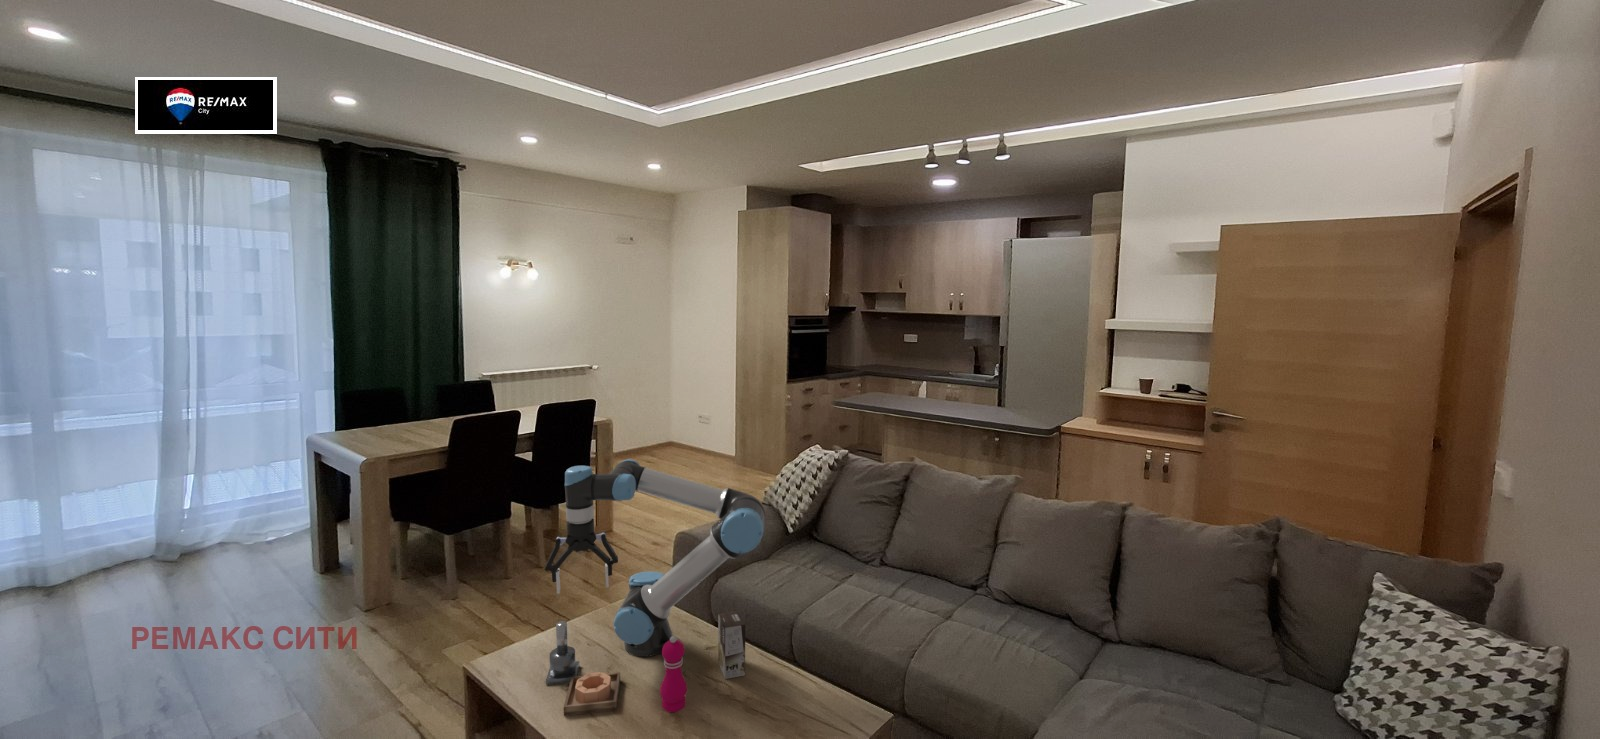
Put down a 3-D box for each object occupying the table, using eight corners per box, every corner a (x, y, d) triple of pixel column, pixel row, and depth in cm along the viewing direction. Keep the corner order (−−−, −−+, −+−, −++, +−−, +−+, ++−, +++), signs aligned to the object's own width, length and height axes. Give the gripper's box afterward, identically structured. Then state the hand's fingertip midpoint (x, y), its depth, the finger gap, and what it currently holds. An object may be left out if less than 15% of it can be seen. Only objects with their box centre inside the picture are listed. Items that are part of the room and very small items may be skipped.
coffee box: (745, 675, 187) (746, 624, 185) (724, 679, 185) (724, 627, 183) (738, 658, 196) (738, 609, 194) (717, 662, 193) (717, 612, 191)
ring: (608, 702, 172) (608, 690, 172) (573, 706, 171) (573, 694, 170) (611, 682, 181) (611, 671, 181) (578, 685, 179) (578, 674, 179)
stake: (579, 665, 190) (577, 615, 188) (575, 681, 183) (573, 629, 181) (551, 668, 189) (549, 617, 187) (545, 684, 181) (544, 632, 179)
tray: (620, 680, 184) (620, 672, 183) (616, 710, 171) (615, 701, 170) (571, 684, 181) (571, 676, 181) (563, 715, 168) (563, 707, 168)
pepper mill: (674, 717, 168) (673, 646, 166) (654, 707, 172) (653, 638, 170) (692, 702, 175) (692, 634, 172) (673, 693, 178) (672, 626, 176)
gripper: (624, 511, 191) (626, 577, 194) (535, 519, 184) (539, 588, 187) (624, 519, 184) (627, 589, 186) (532, 528, 177) (536, 600, 179)
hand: (583, 588), depth 187 cm, fingers open, 13 cm apart
